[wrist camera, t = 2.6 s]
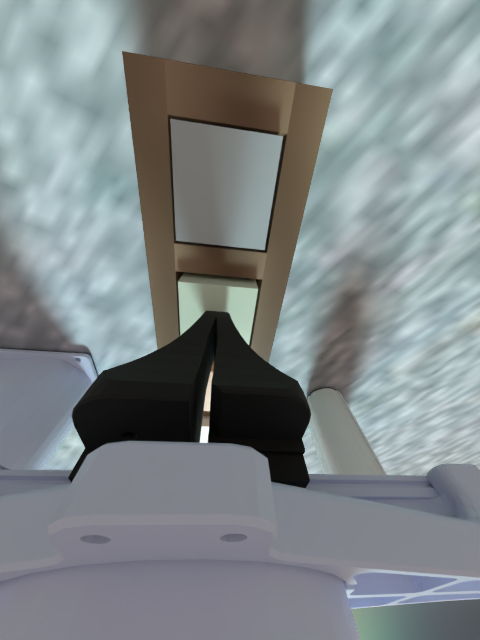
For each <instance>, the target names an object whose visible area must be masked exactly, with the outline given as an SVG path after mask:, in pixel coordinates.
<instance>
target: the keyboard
mask: <svg viewBox="0 0 480 640" xmlns="http://www.w3.org/2000/svg"><path fill="white" fill-rule="evenodd" d="M122 54H123V62H124V71H125V79H126V87H127V96H128V104H129V112H130V121H131V129H132V138H133V146H134V154H135V163H136V171H137V179H138V188H139V196H140V204H141V213H142V221H143V229H144V238H145V246H146V255H147V263H148V271H149V280H150V288H151V296H152V305H153V313H154V321H155V330H156V338H157V347H158V349H160V348H162V347H164V346H165V345H167V344H169V343H171V342H172V341H174V340H175V339H176V338H178V337H179V336H180V315H179V293H178V281H179V279H180V278H181V276H182V275H183V273H184V272H188V273H199V274H209V275H220V276H230V277H241V278H252V279H255V280H256V283H257V287H258V293H257V299H256V306H255V312H254V318H253V324H252V330H251V336H250V342H249V346H250V347H251V348H252V349H253V350H254V351H255V352H256V353H257V354H258V355H259V356H260V357H261V358H263V359H264V360H265V361H266V362H269V358H270V354H271V349H272V345H273V341H274V337H275V332H276V328H277V324H278V320H279V315H280V311H281V307H282V303H283V298H284V294H285V290H286V286H287V281H288V277H289V273H290V269H291V265H292V260H293V256H294V252H295V248H296V243H297V239H298V235H299V231H300V226H301V222H302V218H303V214H304V209H305V205H306V201H307V197H308V192H309V188H310V184H311V180H312V175H313V171H314V167H315V163H316V158H317V154H318V150H319V146H320V142H321V137H322V133H323V129H324V125H325V120H326V116H327V112H328V108H329V103H330V99H331V95H332V91H333V89H329V88H323V87H318V86H312V85H307V84H301V83H295V82H290V81H284V80H279V79H273V78H268V77H262V76H257V75H251V74H246V73H240V72H234V71H229V70H223V69H218V68H212V67H207V66H201V65H196V64H190V63H185V62H179V61H173V60H168V59H162V58H157V57H151V56H146V55H140V54H135V53H129V52H123V51H122ZM170 119H175V120H182V121H188V122H194V123H201V124H207V125H214V126H220V127H226V128H233V129H239V130H246V131H252V132H258V133H265V134H271V135H278V136H283V140H282V146H281V153H280V159H279V165H278V171H277V177H276V183H275V189H274V195H273V202H272V208H271V214H270V220H269V226H268V232H267V238H266V244H265V250H258V249H249V248H239V247H230V246H221V245H211V244H202V243H193V242H183V241H176V229H175V208H174V187H173V165H172V144H171V122H170ZM213 361H214V358H213ZM203 416H210V411H203Z"/></svg>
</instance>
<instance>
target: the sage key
mask: <svg viewBox="0 0 480 640" xmlns="http://www.w3.org/2000/svg"><path fill="white" fill-rule="evenodd" d="M178 293H179V315H180V335H182V334H183V333H184V332H185V331H186V330H188V329H189V328H190V327H191V326H192V325H193V324H194V323H195V322H196V321H197V320H198V319H199V318H200V317H201V316H202V314H203V313H204V312H205V311H219V312H228V313H229V314H230V316H231V319H232V321H233V323H234V325H235V327H236V328H237V330H238V331H239V333H240V335H241V336H242V337H243V339H244V340H245V341H246V343H247V344H248V345H249V342H250V336H251V330H252V324H253V318H254V312H255V306H256V299H257V293H258V287H257V283H256V280H255V279H252V278H241V277H230V276H220V275H209V274H199V273H188V272H184V273H183V275H182V276H181V278H180V279H179V281H178Z"/></svg>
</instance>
